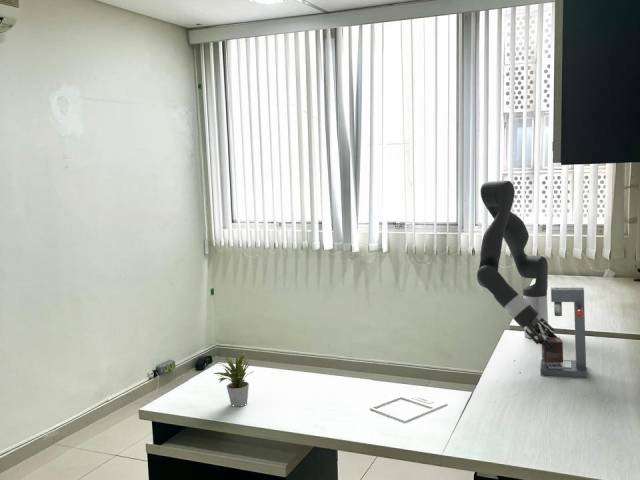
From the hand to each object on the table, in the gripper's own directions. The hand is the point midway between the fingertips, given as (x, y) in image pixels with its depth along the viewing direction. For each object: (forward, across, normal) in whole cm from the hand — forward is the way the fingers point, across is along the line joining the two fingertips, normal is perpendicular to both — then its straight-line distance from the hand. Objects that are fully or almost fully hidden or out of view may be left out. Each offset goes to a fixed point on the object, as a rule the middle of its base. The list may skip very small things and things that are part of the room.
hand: (556, 347), depth 203 cm
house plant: (-50, -73, +62) cm, 107 cm away
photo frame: (-14, -52, +26) cm, 60 cm away
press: (+8, -2, +4) cm, 9 cm away
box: (+3, 0, +4) cm, 5 cm away
